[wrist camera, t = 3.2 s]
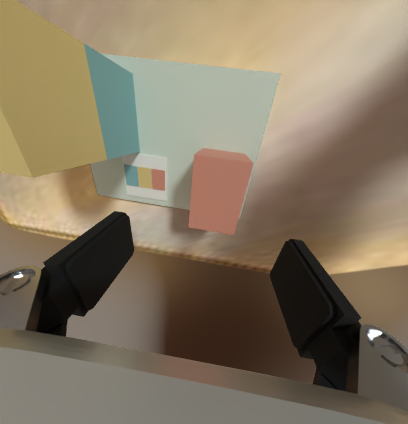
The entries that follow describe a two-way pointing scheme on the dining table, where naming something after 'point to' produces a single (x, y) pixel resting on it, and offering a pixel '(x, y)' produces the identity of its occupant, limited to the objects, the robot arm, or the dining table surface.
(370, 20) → the dining table surface
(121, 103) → the tower base
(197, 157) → the brick
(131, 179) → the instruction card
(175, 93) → the mat
